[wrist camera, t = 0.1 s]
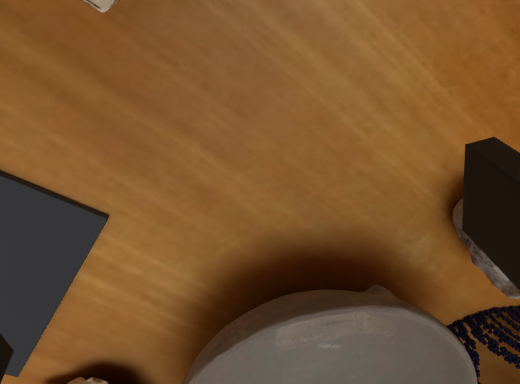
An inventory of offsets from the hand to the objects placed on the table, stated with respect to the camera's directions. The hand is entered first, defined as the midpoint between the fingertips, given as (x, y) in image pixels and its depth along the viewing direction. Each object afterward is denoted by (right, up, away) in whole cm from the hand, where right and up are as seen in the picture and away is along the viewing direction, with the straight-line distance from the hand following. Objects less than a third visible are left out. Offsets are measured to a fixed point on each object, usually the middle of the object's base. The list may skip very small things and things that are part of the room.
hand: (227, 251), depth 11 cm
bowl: (+5, -14, +33) cm, 36 cm away
